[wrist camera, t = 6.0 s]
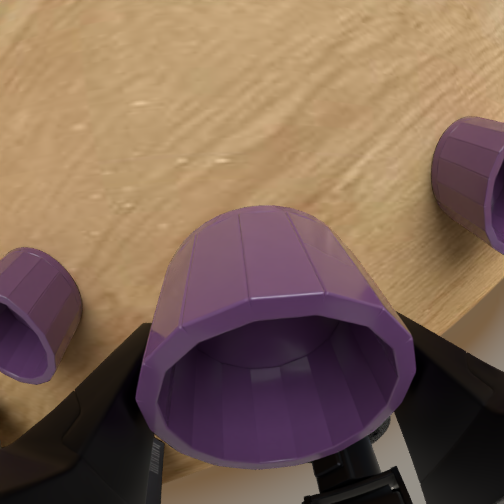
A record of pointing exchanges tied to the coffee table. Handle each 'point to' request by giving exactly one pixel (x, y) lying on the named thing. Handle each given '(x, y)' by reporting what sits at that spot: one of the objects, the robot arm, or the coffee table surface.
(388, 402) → the plum dish
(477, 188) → the plum dish
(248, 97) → the coffee table surface
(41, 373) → the plum dish
